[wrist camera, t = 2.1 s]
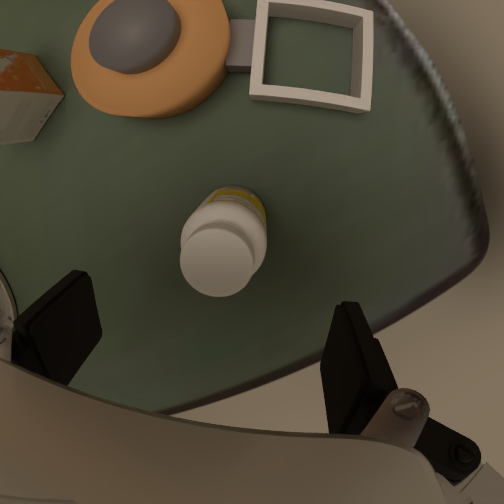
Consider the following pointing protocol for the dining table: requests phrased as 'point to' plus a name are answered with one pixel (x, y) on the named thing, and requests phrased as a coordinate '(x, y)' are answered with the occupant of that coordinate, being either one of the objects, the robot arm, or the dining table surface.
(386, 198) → the dining table surface
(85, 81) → the disc and frame
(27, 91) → the small box
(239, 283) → the supplement bottle
